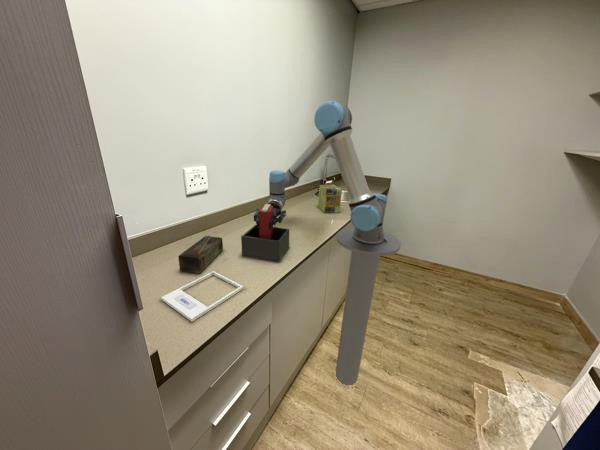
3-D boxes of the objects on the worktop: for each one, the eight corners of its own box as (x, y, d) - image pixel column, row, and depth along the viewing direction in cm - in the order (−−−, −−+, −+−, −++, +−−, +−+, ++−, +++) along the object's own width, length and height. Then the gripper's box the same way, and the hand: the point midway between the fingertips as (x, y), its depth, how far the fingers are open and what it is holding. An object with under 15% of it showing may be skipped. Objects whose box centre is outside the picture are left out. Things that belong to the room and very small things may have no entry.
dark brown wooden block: (224, 250, 101) (223, 235, 98) (200, 274, 83) (198, 258, 81) (206, 248, 102) (204, 233, 99) (178, 272, 84) (176, 255, 82)
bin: (288, 247, 106) (289, 229, 103) (279, 262, 93) (279, 241, 90) (255, 242, 109) (255, 224, 106) (242, 256, 96) (241, 236, 93)
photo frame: (161, 296, 70) (213, 270, 84) (161, 299, 70) (213, 273, 84) (191, 318, 62) (243, 285, 76) (191, 321, 62) (243, 288, 77)
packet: (273, 233, 103) (273, 204, 98) (269, 242, 95) (269, 210, 90) (263, 233, 103) (263, 203, 98) (259, 241, 95) (258, 209, 90)
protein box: (324, 213, 154) (326, 189, 149) (317, 206, 168) (319, 184, 163) (339, 212, 156) (342, 189, 151) (332, 206, 171) (334, 184, 165)
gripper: (291, 216, 114) (286, 236, 92) (255, 214, 115) (241, 233, 93) (292, 201, 111) (286, 217, 89) (255, 199, 112) (240, 214, 90)
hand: (263, 225), depth 91 cm, fingers closed on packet, 4 cm apart
